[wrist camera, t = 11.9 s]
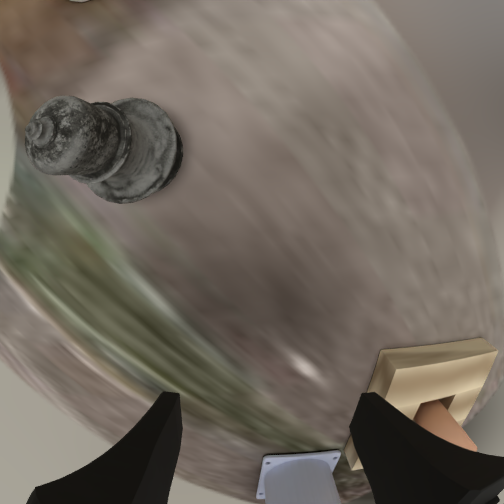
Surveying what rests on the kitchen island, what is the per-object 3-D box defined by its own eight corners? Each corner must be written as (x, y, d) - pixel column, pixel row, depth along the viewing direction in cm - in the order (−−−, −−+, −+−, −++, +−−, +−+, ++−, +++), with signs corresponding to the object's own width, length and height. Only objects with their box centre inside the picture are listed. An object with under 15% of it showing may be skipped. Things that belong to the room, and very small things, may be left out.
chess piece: (183, 202, 19) (102, 236, 7) (100, 197, 18) (-32, 225, 6) (192, 111, 17) (132, 21, 6) (109, 112, 17) (-11, 59, 5)
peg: (423, 405, 24) (467, 464, 15) (401, 411, 24) (442, 475, 15) (433, 383, 23) (483, 442, 14) (410, 389, 23) (458, 453, 14)
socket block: (438, 429, 26) (449, 444, 23) (343, 450, 25) (351, 470, 22) (481, 337, 23) (498, 350, 20) (380, 349, 22) (396, 369, 19)
